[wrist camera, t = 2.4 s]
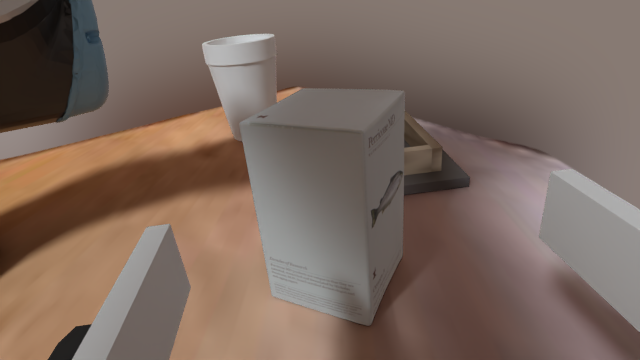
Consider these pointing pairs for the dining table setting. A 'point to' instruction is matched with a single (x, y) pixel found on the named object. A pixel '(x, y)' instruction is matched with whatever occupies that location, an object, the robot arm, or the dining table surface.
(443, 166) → the keeper cradle
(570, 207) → the robot arm
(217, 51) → the foam cup
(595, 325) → the dining table surface
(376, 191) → the supplement box
